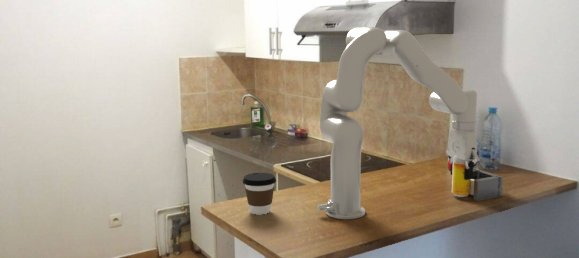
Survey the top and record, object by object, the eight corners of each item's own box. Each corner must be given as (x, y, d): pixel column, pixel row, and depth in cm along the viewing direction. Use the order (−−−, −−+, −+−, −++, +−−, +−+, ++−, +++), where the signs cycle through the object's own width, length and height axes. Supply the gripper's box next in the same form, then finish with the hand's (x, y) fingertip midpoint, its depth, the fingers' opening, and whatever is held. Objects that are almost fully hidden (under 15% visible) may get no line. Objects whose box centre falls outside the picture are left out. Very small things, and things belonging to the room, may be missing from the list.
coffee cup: (239, 209, 185) (238, 174, 183) (270, 204, 189) (269, 170, 187) (249, 219, 175) (248, 182, 173) (281, 214, 179) (281, 178, 177)
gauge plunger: (474, 195, 191) (475, 174, 190) (455, 188, 200) (456, 168, 198) (486, 193, 194) (487, 172, 192) (467, 186, 202) (468, 166, 201)
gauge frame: (477, 201, 189) (478, 180, 188) (453, 191, 200) (454, 171, 198) (501, 196, 194) (502, 175, 192) (476, 187, 204) (477, 168, 203)
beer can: (470, 197, 190) (472, 155, 187) (452, 197, 191) (454, 154, 188) (468, 192, 196) (470, 151, 193) (450, 191, 197) (452, 150, 194)
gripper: (438, 122, 195) (436, 172, 198) (473, 131, 180) (470, 184, 183) (454, 121, 198) (452, 169, 201) (490, 128, 183) (488, 181, 186)
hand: (461, 176), depth 192 cm, fingers closed on beer can, 6 cm apart
